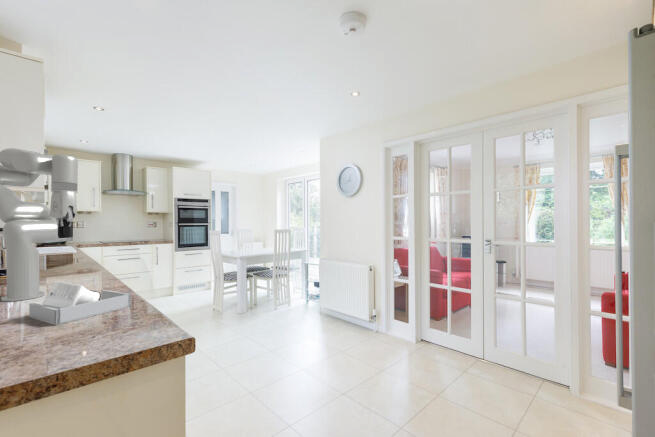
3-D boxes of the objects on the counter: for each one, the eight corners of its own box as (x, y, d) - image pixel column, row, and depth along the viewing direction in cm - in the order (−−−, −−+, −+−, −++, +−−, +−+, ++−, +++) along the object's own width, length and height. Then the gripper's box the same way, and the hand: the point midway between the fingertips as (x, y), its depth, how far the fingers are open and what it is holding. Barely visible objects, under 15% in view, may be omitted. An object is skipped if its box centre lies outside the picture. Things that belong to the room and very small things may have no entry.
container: (61, 284, 105) (104, 292, 109) (49, 307, 101) (94, 314, 106) (54, 280, 98) (101, 289, 103) (41, 304, 95) (90, 313, 100)
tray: (29, 317, 99) (29, 303, 99) (104, 301, 119) (104, 289, 119) (56, 325, 91) (56, 310, 91) (131, 306, 111) (131, 294, 111)
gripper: (43, 188, 116) (42, 236, 116) (61, 186, 109) (60, 238, 109) (67, 189, 123) (66, 235, 123) (86, 188, 116) (85, 237, 116)
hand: (63, 236), depth 116 cm, fingers closed
